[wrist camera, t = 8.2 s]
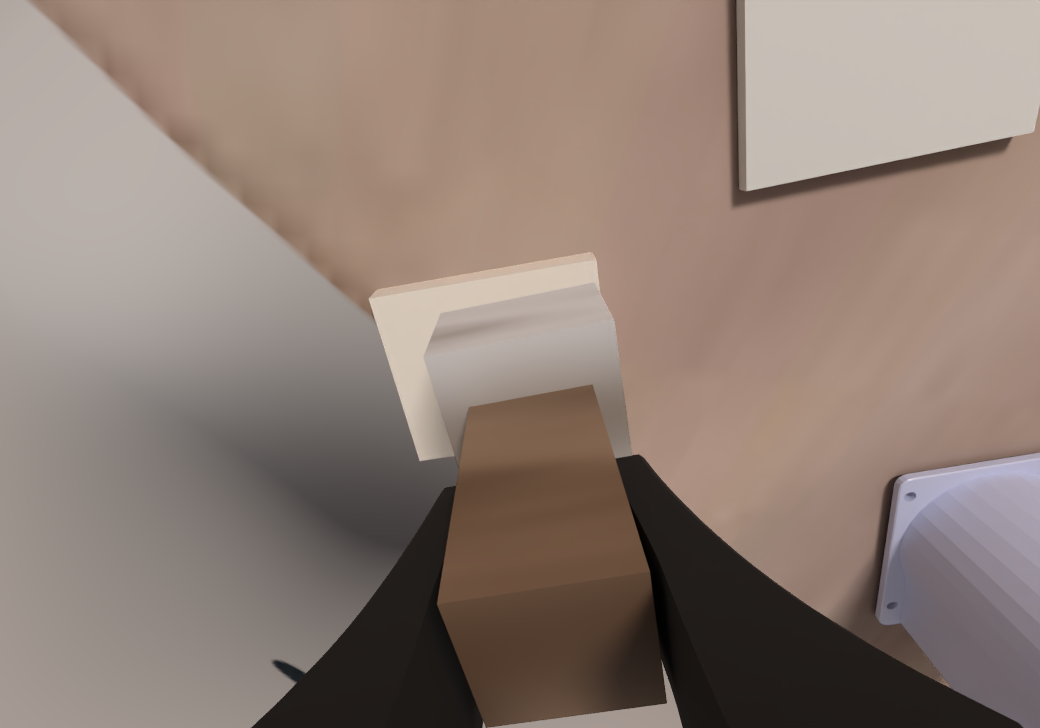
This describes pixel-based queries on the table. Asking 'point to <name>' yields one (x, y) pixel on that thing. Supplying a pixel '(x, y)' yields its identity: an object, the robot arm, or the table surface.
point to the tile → (418, 306)
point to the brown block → (542, 511)
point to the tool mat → (878, 81)
